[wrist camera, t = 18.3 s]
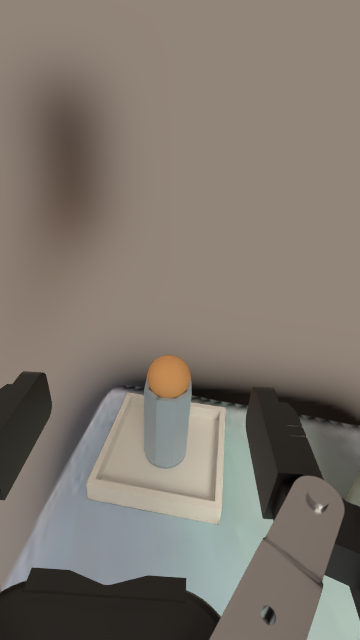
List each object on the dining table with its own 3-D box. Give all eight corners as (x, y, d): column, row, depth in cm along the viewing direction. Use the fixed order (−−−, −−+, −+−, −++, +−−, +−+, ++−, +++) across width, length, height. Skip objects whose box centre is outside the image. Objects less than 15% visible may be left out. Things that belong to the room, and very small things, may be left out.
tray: (128, 406, 51) (127, 392, 50) (223, 421, 50) (225, 407, 48) (88, 499, 37) (86, 484, 36) (218, 524, 36) (221, 509, 34)
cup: (185, 435, 45) (191, 371, 40) (184, 470, 40) (191, 402, 35) (148, 433, 45) (148, 368, 40) (142, 467, 40) (141, 399, 35)
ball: (177, 375, 41) (179, 343, 38) (196, 400, 37) (200, 366, 34) (140, 386, 39) (140, 352, 36) (157, 414, 35) (158, 378, 32)
